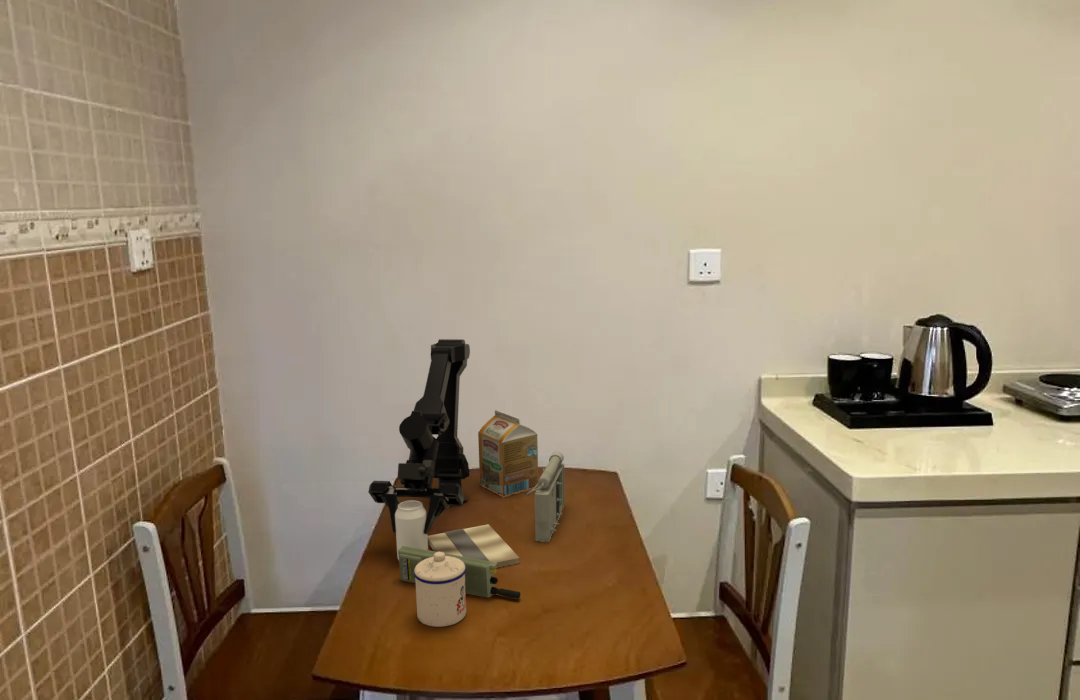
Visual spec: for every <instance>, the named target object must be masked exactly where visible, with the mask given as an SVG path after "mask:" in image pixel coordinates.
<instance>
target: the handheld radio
mask: <svg viewBox="0 0 1080 700" xmlns="http://www.w3.org/2000/svg"><path fill="white" fill-rule="evenodd" d="M435 553H436V552H435V551H433V550H429V549H428V550H423V549H418V548H412V547H407V546H402V547H401V548H400V549H399V550H398V554H399V560H398V562H399V563H398V564H399V574H400V575H399V577H400V581H402V580H403V581H404V582H408V583H413V584H416V581H415V576H414V569H415V567H416V565H417V564H418V563H419V562H421V561H423V560H425V559H427V558H430V557H434V554H435ZM444 554H445V556H451V557H455V558H458V559H460V560H461V561H462V562H463V563H464V564H465V567H466V572H465V590H466V594H467V595H473V596H479V597H481V598H482V597H484V598H491V597H492V596H493V595H498V596H502V597H505V598H506V597H507V598H511V599H515V600H516V599H517V600H520V598H521V592H520V591H516V590H512V589H507V588H498V587H497V586H496V587H495V585H497V584H498V583H499V579H498V577H495V576H494V574H496V573H497V571H498V570H497V569H498V568H493V567H495V566H496V564H497V563H495V562H491V561H485V560H480V559H474V558H468V557H463V556H457V555H451V554H446V553H444ZM403 581H402V582H403Z"/></svg>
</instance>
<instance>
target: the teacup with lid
mask: <svg viewBox="0 0 1080 700" xmlns="http://www.w3.org/2000/svg"><path fill="white" fill-rule="evenodd" d="M465 572H466V567H465V564H464V563H463V562H462V561H461V560H460V559H458V558H455V557H451V556H445V554H444V553H443V552H436V553H435V554H434V557H430V558H427V559H425V560H423V561H421V562H419V563H418V564H417V565H416V567H415V569H414V576H415V581H416V583H415V596H416V597H415V598H416V600H415V601H416V613H417V614H416V616H417V619H418V621H419V622H421V624H423V625H426V626H429V627H434V628H435V627H436V628H443V627H448V626H452V625H455V624H457V623H459V622H460V621H462V620H463V619H464V618H465V616H466V614H467V595H466V594H467V593H466V590H465Z"/></svg>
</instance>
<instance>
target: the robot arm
mask: <svg viewBox="0 0 1080 700" xmlns="http://www.w3.org/2000/svg"><path fill="white" fill-rule="evenodd" d="M470 355H471V347H470V344H469V343H466V341H465V339H457V338H455V339H450V338H449V339H448V338H447V339H444V338H441V339H440V338H439V339H438V340H437V342H436V343H433V344H430V365H429V367H428V368H429V369H428V374H427V379H426V383H425V386H424V392H423V394H422V395H423V396H422V397H421V398H420V399H419V400H418V401H416V402H415V405H414V408H413V410H412V411H411V414H410V415H409V416H407V417H405V418H404V419H402V421H401V423H400V424H399V427H398V428H399V429H398V431H399V434H400V436H401V438H402V439H403V441H404V443H405V445H406V448H407V449H409V456H408V459H406V461H405V463H404V462H399V463H397V464H398V466H397V476H396V477H397V478H396V479H397V480H399V482H400V484H401V485H403V486H402V487H397V486H396V487H395V486H393V484H392V483H391V481H390V480H373V481H372V482H371V483H370V484H369V486H368V494H369V495H370V497H371V498H372V499H373V501H374V502H375V503H377V504H384V505H385V506H386V507H387V508H388V510H389V516H390V523H391V530H392V533H393V534H396V525H395V513H396V511H397V509H398V504H400V503H401V502H400V501H399V499H400V498H420V499H421V498H424V499H425V498H426V499H429V508H428V510H427V511H428V512H427V514H426V517H427V519H426V523H425V529H424V533H425V534H427V535H428V534H429V532H430V531H431V529H432V528H433V526H434V524H435V523H436V522H437V520H438V518H439V517H440V516H441V514H442V513H443V512H444V511H445V510H448V509H450V506H452V507H455V506H458V507H461V506H463V504H464V503H467V502H468V499H467V498H466V497H465V496H464V491H463V486H462V485H463V484H462V480H465V479H466V478H468V477H470V467H469V466H470V465H469V462H468V459H467V457H466V454H464V446H463V445H462V443H461V441H460V439H459V438H458V427H459V425H458V424H459V406H460V401H459V400H460V384H461V383H460V379H461V375H462V374H463V372H464V371H465V369H466V368H467V366H468V359H470ZM434 435H436V437H435V436H434ZM434 479H437V488H435V487H433V482H434ZM466 501H467V502H466Z"/></svg>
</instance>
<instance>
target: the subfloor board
mask: <svg viewBox="0 0 1080 700" xmlns="http://www.w3.org/2000/svg"><path fill="white" fill-rule="evenodd" d="M427 537H428V546H430V548H431V549H432V551H433V550H434V551H435V552H443V553H446V554H451V555H457V556H463V557H468V558H474V559H480V560H485V561H491V562H495V563H497V564H496V566H495V567H493V568H495V569H499V568H498V567H500V568H503V566H504V567H507V566H508V565H509V566H513V565H517V564H520V557H519V555H518V554H517V553H516V552H515V551H514V550H513V549H512V548H511V547H510V546H509V544H508V543H506V542H505V541H504V540H503V538H502V537H501V536H500V535H499V534H498V533H497V532H496V531H495V529H494V528H493V527H492V526H490V524H488V523H487V524H483V525H477V526H473V527H468V528H458V529H452V530H448V531H444V532H442V533H436V534H431V535H427Z"/></svg>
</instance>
